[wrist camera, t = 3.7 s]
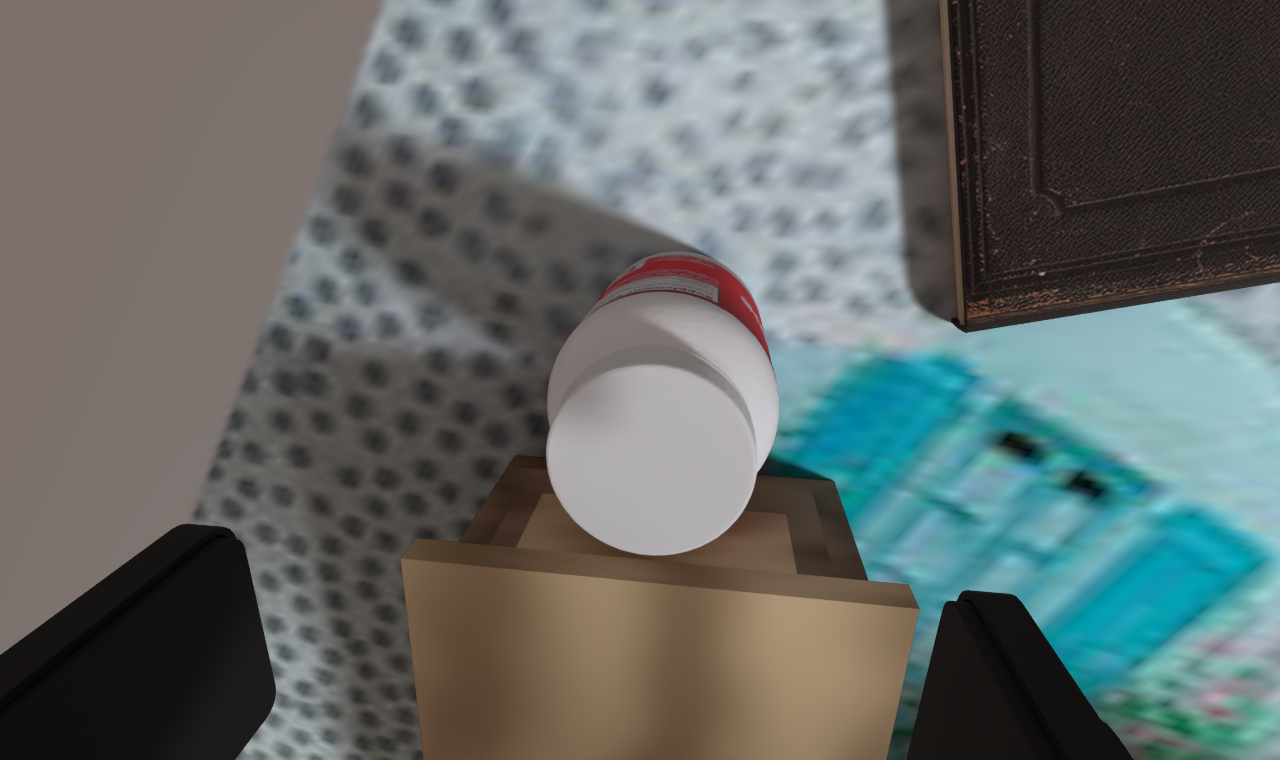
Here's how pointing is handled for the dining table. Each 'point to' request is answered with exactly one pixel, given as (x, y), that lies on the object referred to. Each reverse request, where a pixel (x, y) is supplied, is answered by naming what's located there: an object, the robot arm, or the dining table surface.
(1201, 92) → the hardcover book
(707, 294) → the pill bottle
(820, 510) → the brown boxy piece
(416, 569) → the toolbox lid
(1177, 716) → the dining table surface
